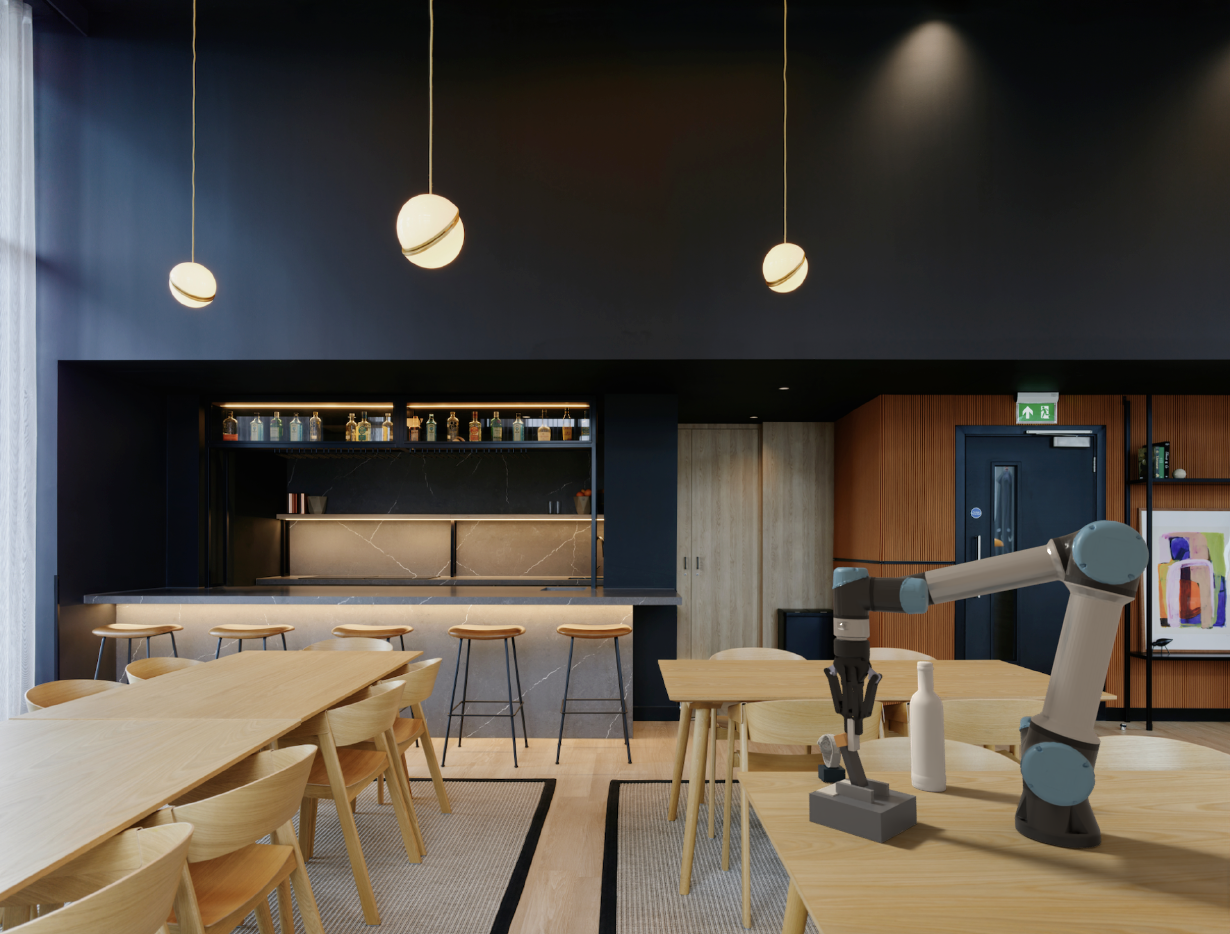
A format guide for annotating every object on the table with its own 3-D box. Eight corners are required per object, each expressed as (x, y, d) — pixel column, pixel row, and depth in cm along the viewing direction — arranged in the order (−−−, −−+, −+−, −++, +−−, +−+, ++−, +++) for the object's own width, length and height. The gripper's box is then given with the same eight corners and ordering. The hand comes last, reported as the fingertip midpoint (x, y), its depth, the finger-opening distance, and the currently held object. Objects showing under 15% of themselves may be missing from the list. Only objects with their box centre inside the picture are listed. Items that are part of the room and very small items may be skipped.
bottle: (912, 790, 178) (909, 663, 182) (909, 780, 186) (906, 659, 189) (948, 793, 176) (944, 665, 179) (944, 784, 183) (940, 660, 187)
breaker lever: (870, 784, 158) (852, 730, 162) (860, 789, 155) (842, 733, 159) (861, 786, 159) (843, 732, 163) (850, 790, 156) (833, 735, 160)
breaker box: (916, 823, 156) (915, 784, 157) (881, 843, 145) (880, 800, 146) (847, 804, 167) (846, 767, 168) (809, 820, 156) (809, 781, 157)
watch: (836, 774, 189) (836, 730, 191) (848, 784, 181) (847, 738, 183) (815, 774, 189) (814, 730, 190) (825, 784, 181) (825, 738, 182)
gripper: (816, 636, 163) (818, 746, 161) (871, 642, 154) (873, 759, 151) (833, 634, 169) (835, 741, 166) (887, 639, 159) (890, 752, 157)
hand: (853, 749), depth 159 cm, fingers closed
